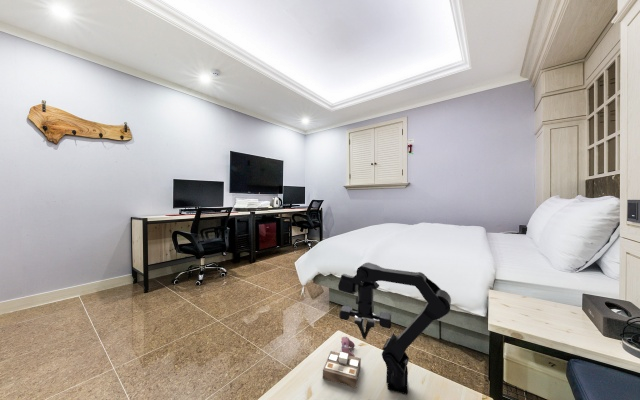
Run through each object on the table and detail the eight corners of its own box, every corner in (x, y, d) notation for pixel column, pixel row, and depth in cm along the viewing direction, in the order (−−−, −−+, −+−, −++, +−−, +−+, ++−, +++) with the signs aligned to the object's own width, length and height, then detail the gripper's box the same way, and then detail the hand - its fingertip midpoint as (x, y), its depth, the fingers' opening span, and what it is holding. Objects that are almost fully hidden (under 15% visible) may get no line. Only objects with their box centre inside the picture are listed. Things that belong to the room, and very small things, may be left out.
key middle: (348, 360, 87) (348, 353, 87) (346, 365, 84) (346, 359, 84) (340, 358, 88) (340, 351, 88) (338, 363, 85) (338, 357, 85)
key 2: (358, 367, 86) (358, 360, 86) (357, 373, 83) (357, 366, 83) (350, 365, 87) (350, 358, 86) (349, 371, 84) (349, 364, 84)
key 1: (337, 362, 88) (338, 355, 88) (336, 367, 85) (336, 360, 85) (330, 360, 89) (330, 353, 89) (328, 365, 86) (328, 358, 86)
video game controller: (345, 349, 99) (339, 334, 99) (355, 345, 98) (348, 330, 99) (346, 366, 89) (338, 349, 89) (357, 361, 88) (349, 345, 89)
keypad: (360, 365, 87) (360, 357, 87) (356, 387, 77) (356, 378, 77) (330, 358, 91) (330, 350, 91) (322, 378, 81) (322, 369, 81)
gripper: (391, 292, 90) (390, 331, 90) (345, 286, 96) (344, 322, 96) (391, 305, 79) (390, 349, 79) (339, 296, 85) (338, 338, 85)
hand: (364, 338), depth 85 cm, fingers closed
